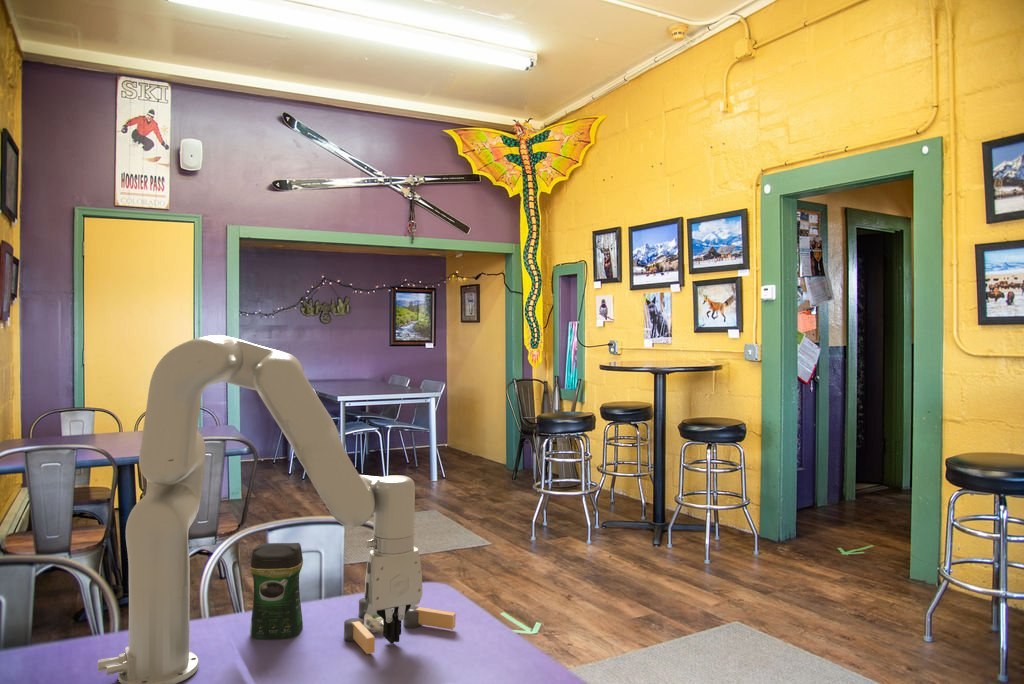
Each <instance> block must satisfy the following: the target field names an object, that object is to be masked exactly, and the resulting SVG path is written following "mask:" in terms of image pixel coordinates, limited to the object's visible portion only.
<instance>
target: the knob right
mask: <svg viewBox="0 0 1024 684" xmlns="http://www.w3.org/2000/svg"><path fill="white" fill-rule="evenodd" d="M456 615H457V614H456V612H453V611H446V610H439V609H433V608H428V607H421V606H417V605H416V606H413V607H410V609H409V610H408V611H407V612H406V614H405V615H404V619H403V620H402V621H403V623H402V625H403V627H405V628H406V629H415V628H416V629H417V628H419V627H421V626H428V627H435V628H439V629H446V630H454V629H455V628H456Z"/></svg>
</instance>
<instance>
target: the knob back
mask: <svg viewBox="0 0 1024 684" xmlns="http://www.w3.org/2000/svg"><path fill="white" fill-rule="evenodd" d="M365 605H366V601H365V597H362V598H360V599H359V600H358V618H359V619H364V615H365V614H366V612H365V611H364V609H365ZM391 610H393V608H391Z"/></svg>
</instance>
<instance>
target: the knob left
mask: <svg viewBox="0 0 1024 684" xmlns="http://www.w3.org/2000/svg"><path fill="white" fill-rule="evenodd" d="M343 623H344V624H343V640H344V641H346V642H350V643H351V642H352V643H353V642H355V643H356V644H357V645H358V646H359V647H360V648H361V650H363V652H365V654H366V655H369V654H373V653H375V648H376V647H375V640H376V639H375V636H374V634H373V633H370V632H369V631H368V630H367V629H366V628H365V627H364V619H363V618H360V617H355V618H353V617H352V618H348V619H346V620H344V622H343Z"/></svg>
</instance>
